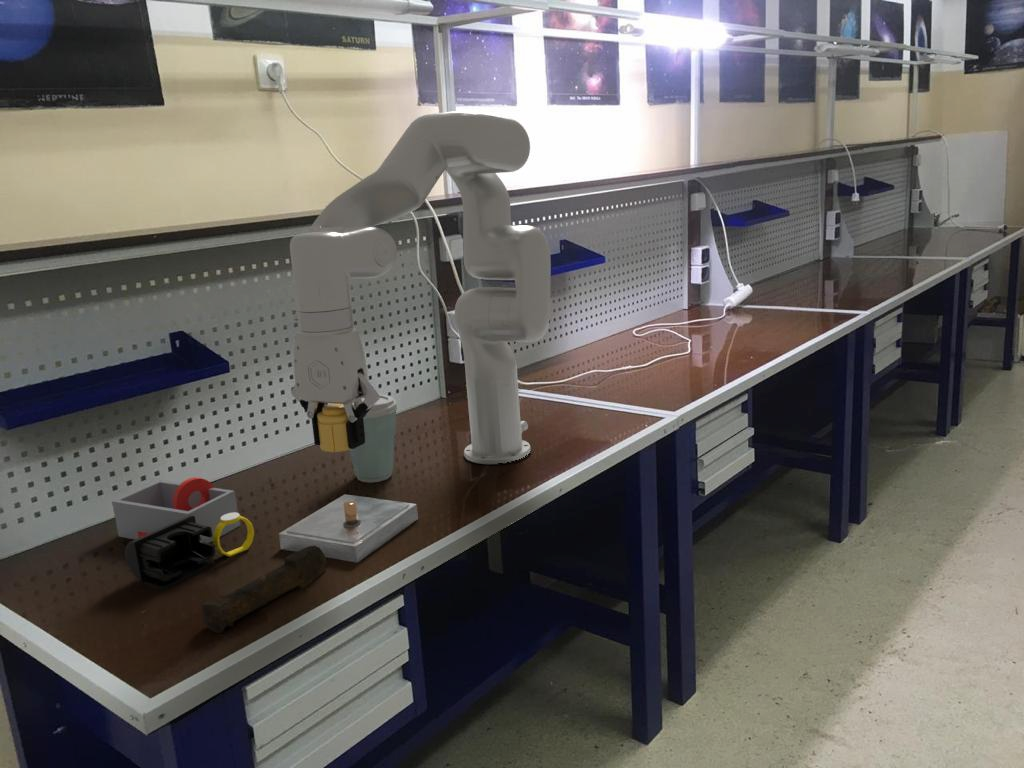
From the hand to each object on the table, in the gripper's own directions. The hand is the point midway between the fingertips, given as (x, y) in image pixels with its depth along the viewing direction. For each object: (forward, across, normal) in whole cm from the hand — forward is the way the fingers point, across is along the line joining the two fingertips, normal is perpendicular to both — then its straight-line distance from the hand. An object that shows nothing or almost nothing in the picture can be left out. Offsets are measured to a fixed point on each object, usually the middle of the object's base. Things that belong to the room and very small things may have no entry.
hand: (339, 443), depth 126 cm
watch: (+16, -15, -8) cm, 23 cm away
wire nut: (0, 0, 0) cm, 0 cm away
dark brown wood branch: (+16, 0, -18) cm, 24 cm away
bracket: (+16, -30, -5) cm, 34 cm away
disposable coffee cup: (+15, -13, +25) cm, 32 cm away
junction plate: (+16, -2, +3) cm, 16 cm away
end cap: (+16, -19, -16) cm, 30 cm away
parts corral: (+16, -30, -5) cm, 34 cm away
